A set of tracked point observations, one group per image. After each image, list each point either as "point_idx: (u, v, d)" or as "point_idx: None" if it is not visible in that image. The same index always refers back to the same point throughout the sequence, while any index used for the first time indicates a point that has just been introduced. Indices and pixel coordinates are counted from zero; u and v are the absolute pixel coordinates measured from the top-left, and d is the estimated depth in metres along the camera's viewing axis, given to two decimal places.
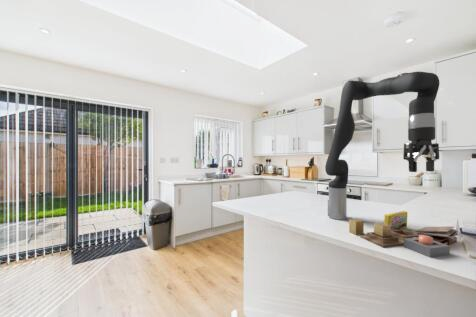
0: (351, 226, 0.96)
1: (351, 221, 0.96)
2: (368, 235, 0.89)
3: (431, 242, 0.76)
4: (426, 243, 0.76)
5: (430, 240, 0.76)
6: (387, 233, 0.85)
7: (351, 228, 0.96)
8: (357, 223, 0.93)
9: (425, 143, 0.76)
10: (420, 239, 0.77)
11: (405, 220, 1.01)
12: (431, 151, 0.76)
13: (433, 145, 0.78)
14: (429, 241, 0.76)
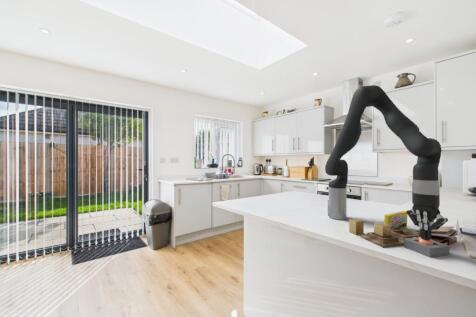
0: (351, 226, 0.96)
1: (351, 221, 0.96)
2: (368, 235, 0.89)
3: None
4: None
5: (430, 243, 0.76)
6: (387, 233, 0.85)
7: (351, 228, 0.96)
8: (357, 223, 0.93)
9: None
10: (420, 242, 0.77)
11: (405, 220, 1.01)
12: None
13: None
14: (429, 243, 0.76)
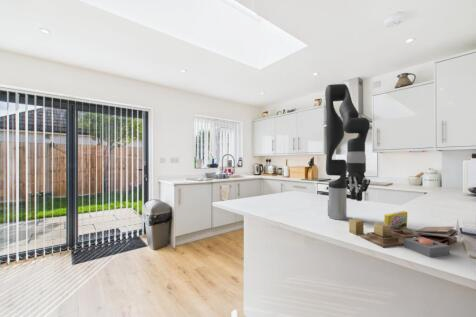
0: (351, 226, 0.96)
1: (351, 221, 0.96)
2: (368, 235, 0.89)
3: None
4: None
5: (430, 243, 0.76)
6: (387, 233, 0.85)
7: (351, 228, 0.96)
8: (357, 223, 0.93)
9: None
10: (420, 242, 0.77)
11: (405, 220, 1.01)
12: None
13: None
14: (429, 244, 0.76)
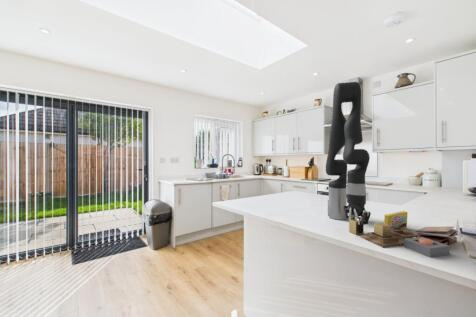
0: (351, 226, 0.96)
1: (351, 221, 0.96)
2: (368, 235, 0.89)
3: None
4: None
5: (430, 243, 0.76)
6: (387, 233, 0.85)
7: (351, 228, 0.96)
8: (357, 223, 0.93)
9: None
10: (420, 242, 0.77)
11: (405, 220, 1.01)
12: None
13: None
14: (429, 244, 0.76)
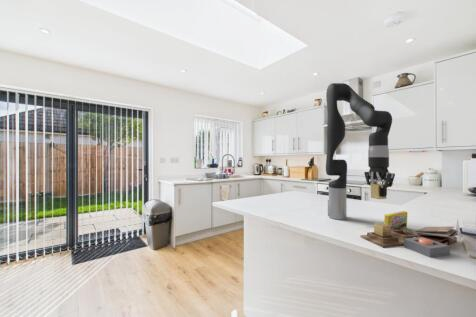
0: (373, 191, 0.92)
1: (373, 185, 0.92)
2: (368, 235, 0.89)
3: None
4: None
5: (430, 243, 0.76)
6: (387, 233, 0.85)
7: (373, 193, 0.92)
8: (380, 186, 0.90)
9: None
10: (420, 242, 0.77)
11: (405, 220, 1.01)
12: None
13: None
14: (429, 244, 0.76)
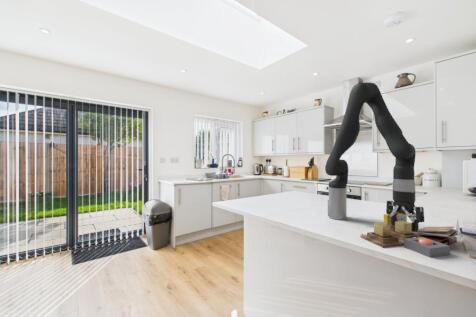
0: (398, 229, 0.89)
1: (398, 223, 0.89)
2: (368, 235, 0.89)
3: None
4: None
5: (430, 243, 0.76)
6: (387, 233, 0.85)
7: (398, 231, 0.89)
8: (406, 226, 0.87)
9: None
10: (420, 242, 0.77)
11: (405, 220, 1.01)
12: None
13: None
14: (429, 244, 0.76)
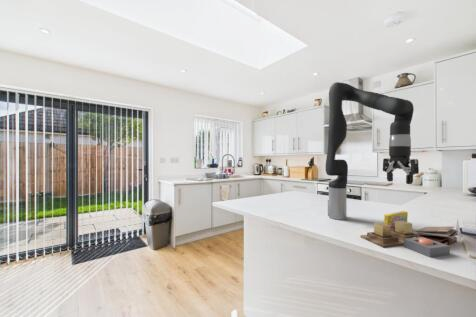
0: (398, 229, 0.89)
1: (398, 223, 0.89)
2: (368, 235, 0.89)
3: None
4: None
5: (430, 243, 0.76)
6: (387, 233, 0.85)
7: (398, 231, 0.89)
8: (406, 226, 0.87)
9: None
10: (420, 242, 0.77)
11: (405, 220, 1.01)
12: None
13: None
14: (429, 244, 0.76)
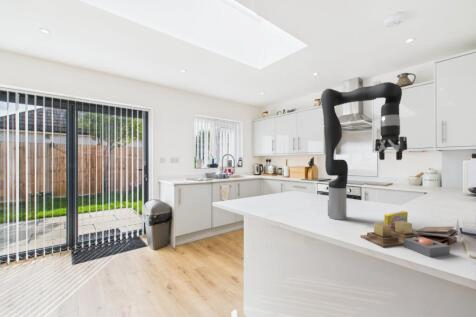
0: (398, 229, 0.89)
1: (398, 223, 0.89)
2: (368, 235, 0.89)
3: None
4: None
5: (430, 243, 0.76)
6: (387, 233, 0.85)
7: (398, 231, 0.89)
8: (406, 226, 0.87)
9: None
10: (420, 242, 0.77)
11: (405, 220, 1.01)
12: None
13: None
14: (429, 244, 0.76)
